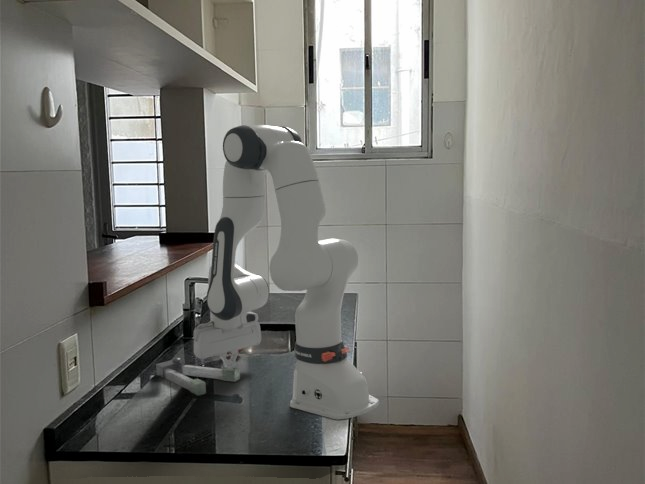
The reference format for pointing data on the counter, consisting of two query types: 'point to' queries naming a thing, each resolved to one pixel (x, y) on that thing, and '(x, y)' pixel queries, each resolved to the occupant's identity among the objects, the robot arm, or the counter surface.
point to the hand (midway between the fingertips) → (229, 366)
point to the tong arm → (210, 372)
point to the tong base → (180, 377)
